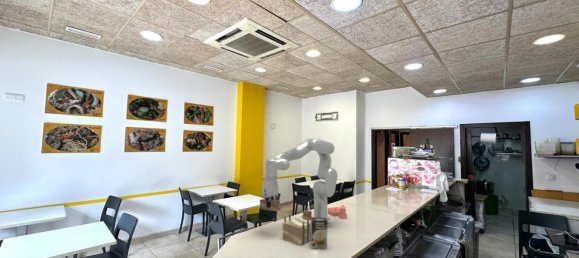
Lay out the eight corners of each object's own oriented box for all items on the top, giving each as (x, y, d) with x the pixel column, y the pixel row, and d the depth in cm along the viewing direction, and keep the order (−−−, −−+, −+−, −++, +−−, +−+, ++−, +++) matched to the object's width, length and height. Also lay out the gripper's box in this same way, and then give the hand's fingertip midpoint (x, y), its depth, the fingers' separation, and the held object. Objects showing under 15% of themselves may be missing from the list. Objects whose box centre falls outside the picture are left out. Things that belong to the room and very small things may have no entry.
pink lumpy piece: (327, 213, 204) (327, 201, 205) (337, 211, 208) (337, 200, 208) (340, 219, 188) (340, 206, 188) (350, 218, 192) (350, 205, 192)
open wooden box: (302, 230, 164) (302, 210, 165) (320, 236, 154) (320, 215, 155) (282, 239, 149) (282, 217, 150) (301, 246, 139) (301, 223, 140)
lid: (302, 217, 162) (302, 208, 163) (317, 222, 154) (317, 212, 154) (285, 224, 150) (285, 213, 150) (301, 229, 142) (301, 218, 142)
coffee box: (311, 249, 135) (311, 220, 136) (309, 244, 141) (310, 217, 142) (327, 249, 135) (327, 220, 136) (325, 244, 142) (325, 217, 142)
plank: (263, 208, 161) (263, 199, 162) (280, 210, 151) (279, 200, 152) (260, 209, 159) (259, 199, 160) (277, 211, 149) (276, 201, 150)
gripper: (275, 176, 165) (275, 203, 164) (257, 178, 152) (256, 208, 151) (283, 177, 160) (283, 205, 159) (265, 180, 147) (265, 210, 147)
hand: (270, 206), depth 155 cm, fingers closed on plank, 2 cm apart
